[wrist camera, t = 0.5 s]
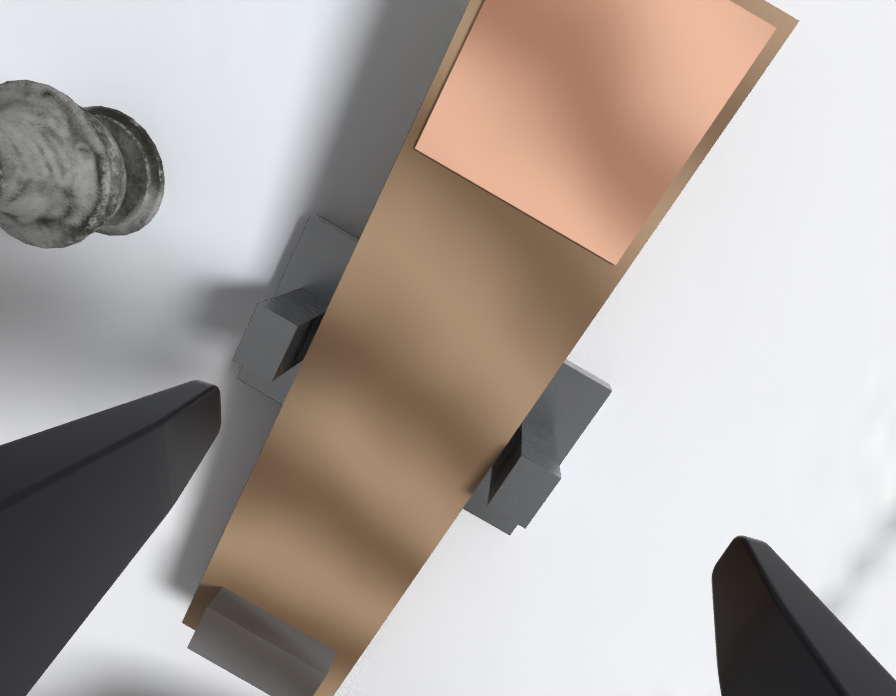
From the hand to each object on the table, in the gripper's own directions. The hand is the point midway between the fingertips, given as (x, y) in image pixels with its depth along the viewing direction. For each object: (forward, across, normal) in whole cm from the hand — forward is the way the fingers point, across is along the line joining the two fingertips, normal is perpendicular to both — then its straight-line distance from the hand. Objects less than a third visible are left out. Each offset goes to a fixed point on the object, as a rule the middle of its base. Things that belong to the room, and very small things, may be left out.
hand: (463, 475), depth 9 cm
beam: (+9, +3, +6) cm, 11 cm away
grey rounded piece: (+14, +18, +2) cm, 23 cm away
